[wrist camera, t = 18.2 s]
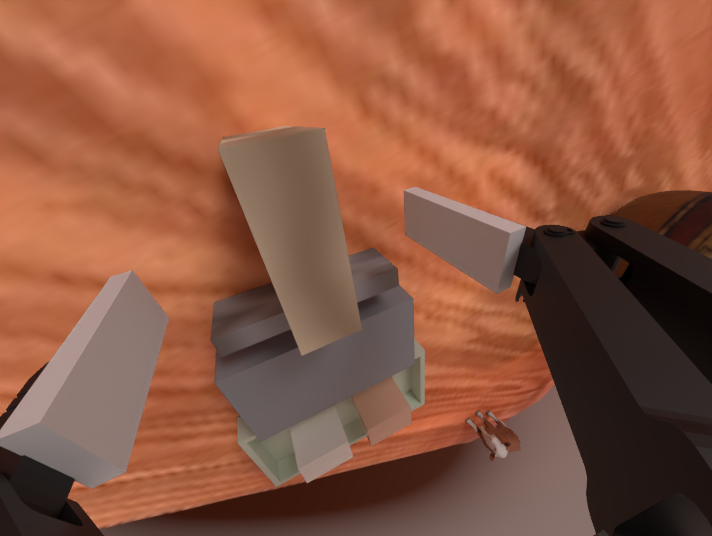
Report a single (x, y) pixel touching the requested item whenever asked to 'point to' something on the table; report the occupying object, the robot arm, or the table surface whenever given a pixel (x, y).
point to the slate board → (317, 367)
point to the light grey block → (320, 444)
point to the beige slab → (294, 245)
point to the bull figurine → (496, 436)
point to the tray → (279, 450)
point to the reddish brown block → (382, 410)
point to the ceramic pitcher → (673, 219)
